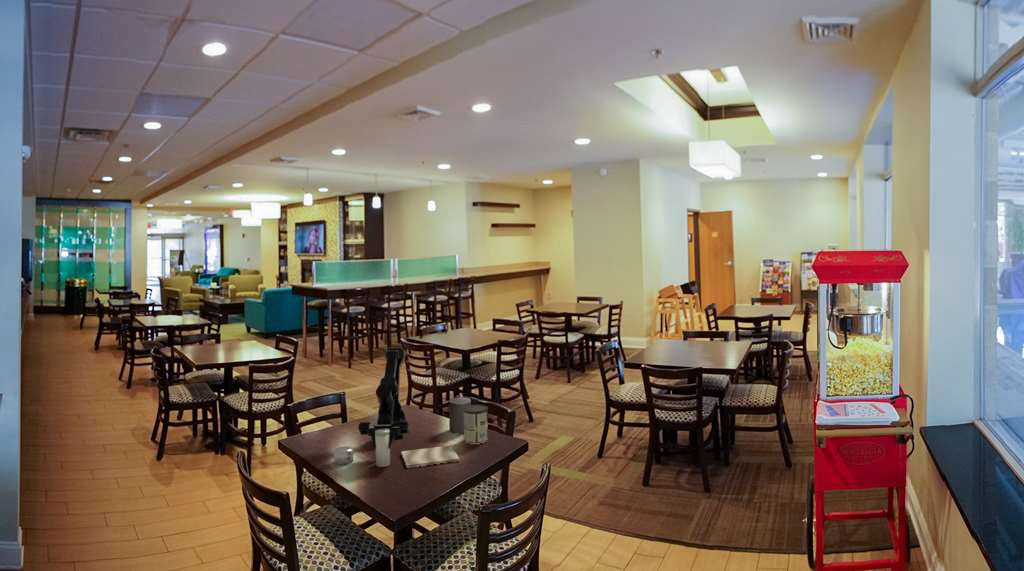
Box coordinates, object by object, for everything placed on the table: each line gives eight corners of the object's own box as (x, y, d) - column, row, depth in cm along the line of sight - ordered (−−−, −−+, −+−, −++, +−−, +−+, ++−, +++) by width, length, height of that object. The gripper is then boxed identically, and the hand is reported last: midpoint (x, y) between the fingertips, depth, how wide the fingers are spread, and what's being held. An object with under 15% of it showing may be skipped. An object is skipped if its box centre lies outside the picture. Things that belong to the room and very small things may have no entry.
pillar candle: (445, 429, 257) (444, 397, 256) (463, 425, 263) (463, 393, 261) (456, 435, 249) (456, 402, 248) (475, 430, 255) (475, 398, 254)
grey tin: (352, 457, 224) (352, 445, 224) (353, 464, 218) (353, 451, 217) (334, 460, 222) (333, 447, 222) (334, 466, 215) (334, 453, 215)
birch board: (450, 448, 234) (450, 445, 234) (459, 461, 219) (459, 458, 219) (401, 454, 227) (401, 451, 227) (406, 468, 213) (406, 465, 213)
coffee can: (471, 435, 249) (470, 403, 248) (492, 438, 245) (491, 406, 244) (459, 442, 240) (458, 409, 239) (480, 446, 236) (480, 412, 235)
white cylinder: (389, 460, 220) (388, 427, 219) (391, 465, 215) (390, 432, 214) (375, 462, 218) (374, 429, 217) (376, 467, 213) (375, 433, 212)
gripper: (411, 420, 232) (409, 456, 222) (365, 421, 230) (360, 458, 220) (409, 406, 223) (406, 444, 213) (360, 407, 222) (355, 445, 212)
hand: (382, 448), depth 215 cm, fingers closed on white cylinder, 5 cm apart
